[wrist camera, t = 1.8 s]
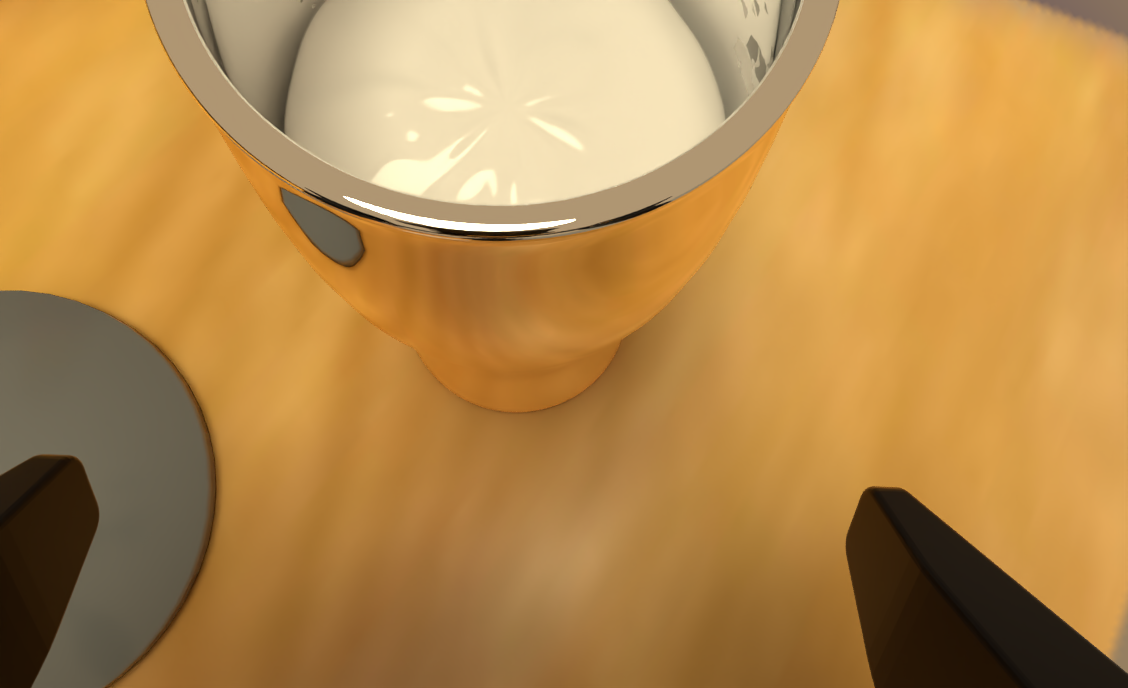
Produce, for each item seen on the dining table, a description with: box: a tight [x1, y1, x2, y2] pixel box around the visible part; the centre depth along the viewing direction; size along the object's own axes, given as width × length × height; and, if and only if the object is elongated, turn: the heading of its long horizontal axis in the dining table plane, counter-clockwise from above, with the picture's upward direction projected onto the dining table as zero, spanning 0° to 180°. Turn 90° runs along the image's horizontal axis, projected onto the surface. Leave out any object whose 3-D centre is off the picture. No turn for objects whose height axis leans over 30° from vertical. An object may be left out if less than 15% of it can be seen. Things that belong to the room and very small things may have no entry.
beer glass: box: [144, 0, 839, 412], centre depth 15 cm, size 7×7×15 cm
